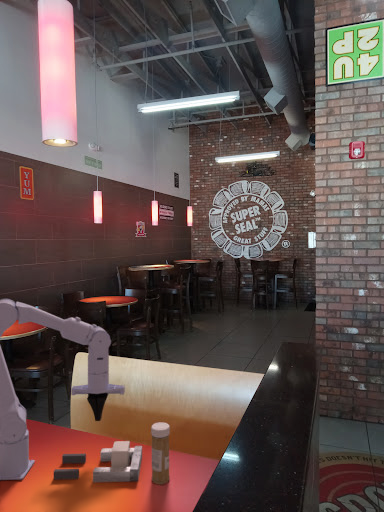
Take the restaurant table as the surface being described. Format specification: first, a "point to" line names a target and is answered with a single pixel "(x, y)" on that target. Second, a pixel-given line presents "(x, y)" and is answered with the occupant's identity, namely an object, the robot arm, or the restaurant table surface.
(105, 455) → the block
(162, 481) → the sprinkles bottle
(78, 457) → the pair of grey blocks
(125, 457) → the plug
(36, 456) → the restaurant table surface
